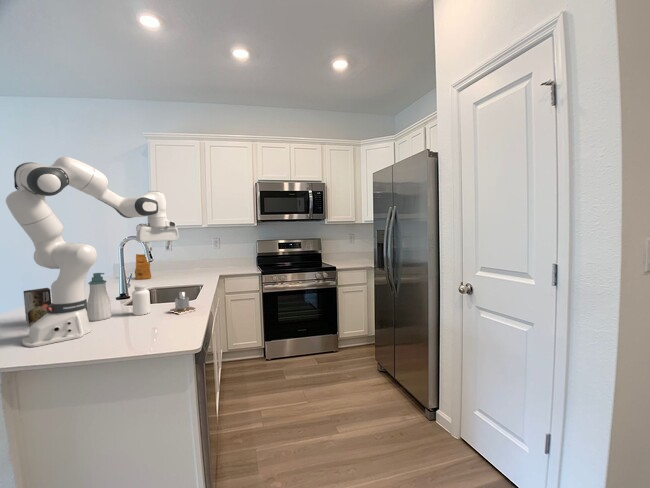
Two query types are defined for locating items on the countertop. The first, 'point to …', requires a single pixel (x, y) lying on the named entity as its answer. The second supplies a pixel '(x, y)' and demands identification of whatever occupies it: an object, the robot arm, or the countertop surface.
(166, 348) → the countertop surface
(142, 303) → the pill bottle
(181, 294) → the shaft block
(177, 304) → the hub
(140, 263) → the coffee package
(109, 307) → the soap bottle
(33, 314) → the coffee box
